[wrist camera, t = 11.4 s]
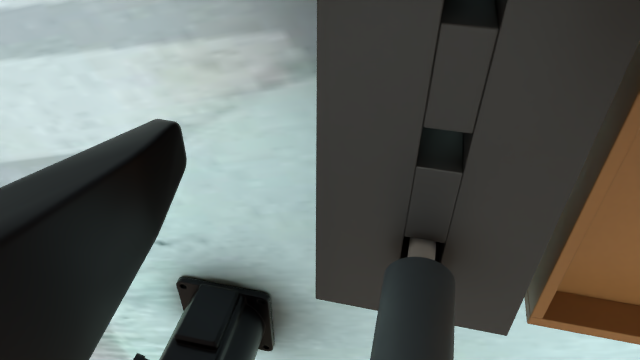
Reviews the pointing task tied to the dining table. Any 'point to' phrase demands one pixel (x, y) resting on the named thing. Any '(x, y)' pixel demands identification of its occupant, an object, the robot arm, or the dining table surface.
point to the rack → (457, 137)
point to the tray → (598, 234)
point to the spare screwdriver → (416, 308)
